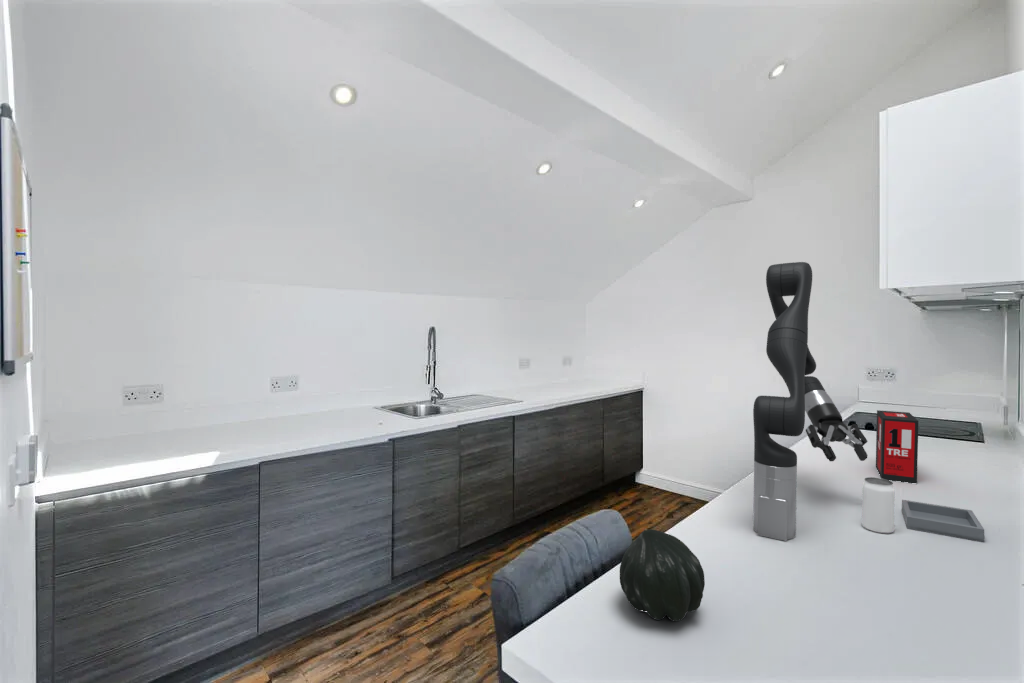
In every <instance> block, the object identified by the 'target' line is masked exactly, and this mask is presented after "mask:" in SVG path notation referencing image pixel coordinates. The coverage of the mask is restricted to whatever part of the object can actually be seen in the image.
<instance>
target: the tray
mask: <svg viewBox="0 0 1024 683" xmlns="http://www.w3.org/2000/svg"><path fill="white" fill-rule="evenodd" d="M901 513H902V517H903V520H904V523H905V526H906V529H907V530H913V531H919V532H924V533H929V534H930V533H931V534H936V535H941V536H946V537H951V538H958V539H963V540H968V541H974V542H981V543H985V528H984V527H983V525H982V524H981V522H980V521H979V519H978V517H977V516H976V514H975V513H974V511H973V510H971V509H966V508H960V507H953V506H946V505H940V504H939V505H938V504H932V503H927V502H921V501H913V500H906V499H901Z"/></svg>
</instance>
